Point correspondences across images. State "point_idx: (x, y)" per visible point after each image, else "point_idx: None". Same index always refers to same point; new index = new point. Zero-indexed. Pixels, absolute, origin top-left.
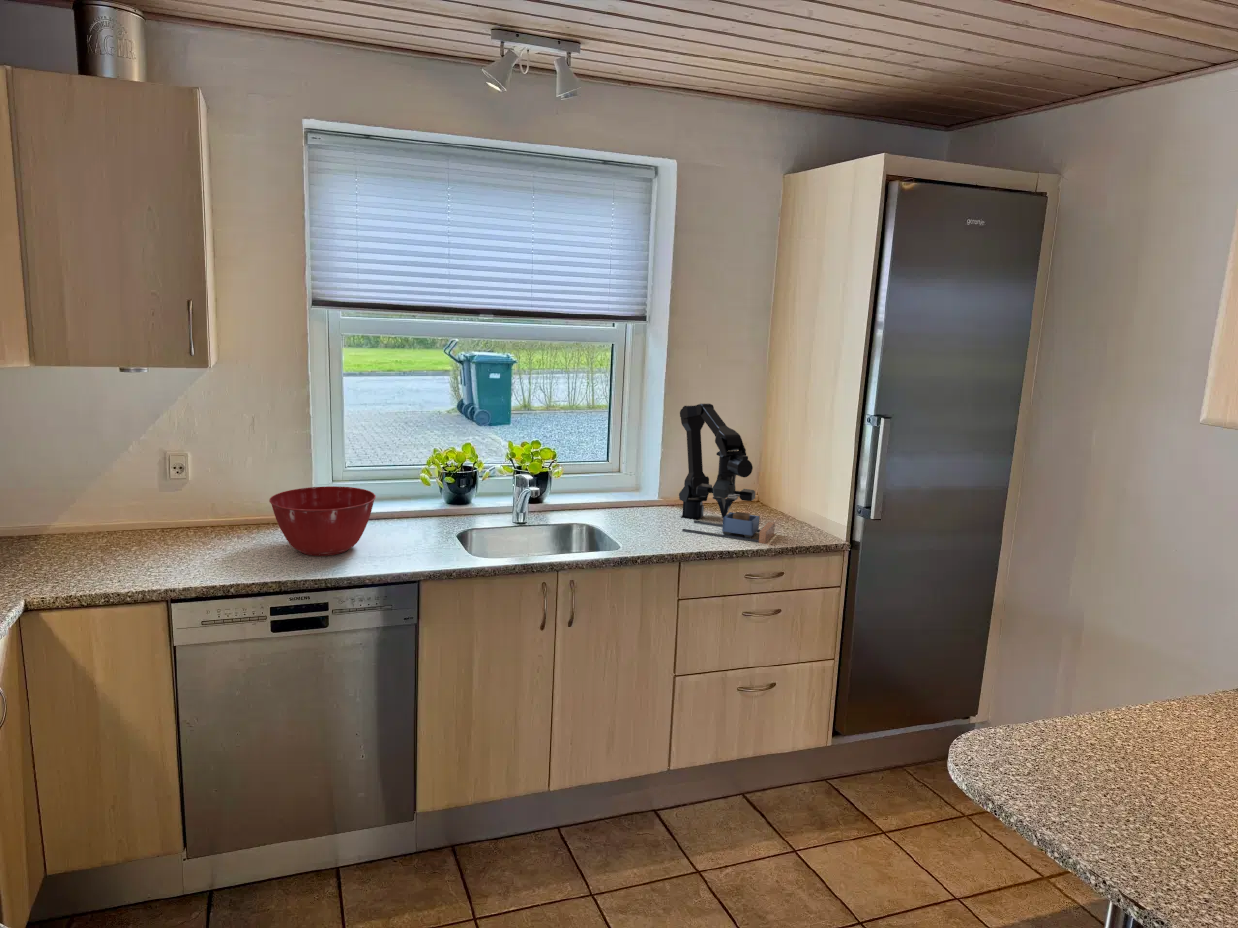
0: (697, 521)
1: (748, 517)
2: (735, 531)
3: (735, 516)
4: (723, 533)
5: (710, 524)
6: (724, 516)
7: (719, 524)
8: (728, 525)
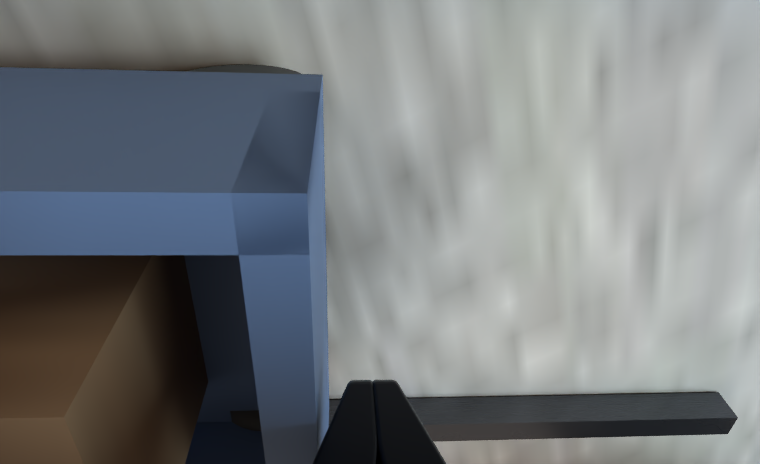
0: (696, 416)
1: None
2: (51, 77)
3: (11, 379)
4: (300, 73)
5: (548, 409)
6: (351, 400)
7: (452, 423)
8: (178, 118)
